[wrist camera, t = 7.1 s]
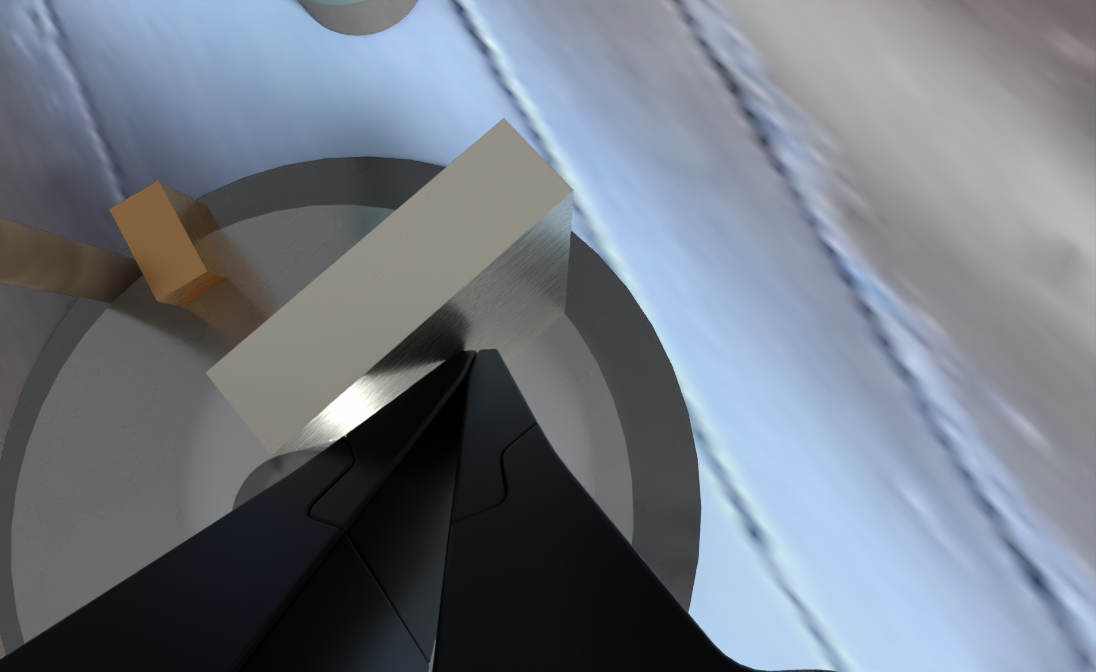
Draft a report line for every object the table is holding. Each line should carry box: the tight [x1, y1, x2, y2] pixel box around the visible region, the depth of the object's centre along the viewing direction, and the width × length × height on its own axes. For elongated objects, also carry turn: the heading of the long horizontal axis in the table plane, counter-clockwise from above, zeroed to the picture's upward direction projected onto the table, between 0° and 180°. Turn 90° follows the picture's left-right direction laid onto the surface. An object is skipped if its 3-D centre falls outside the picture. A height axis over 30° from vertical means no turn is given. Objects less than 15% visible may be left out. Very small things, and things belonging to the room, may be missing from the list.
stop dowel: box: [0, 218, 143, 304], centre depth 16 cm, size 2×2×6 cm
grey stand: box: [11, 118, 634, 672], centre depth 11 cm, size 22×24×11 cm
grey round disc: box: [0, 157, 701, 655], centre depth 17 cm, size 28×28×1 cm
